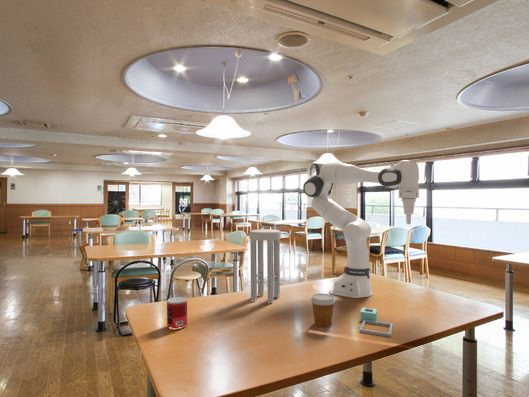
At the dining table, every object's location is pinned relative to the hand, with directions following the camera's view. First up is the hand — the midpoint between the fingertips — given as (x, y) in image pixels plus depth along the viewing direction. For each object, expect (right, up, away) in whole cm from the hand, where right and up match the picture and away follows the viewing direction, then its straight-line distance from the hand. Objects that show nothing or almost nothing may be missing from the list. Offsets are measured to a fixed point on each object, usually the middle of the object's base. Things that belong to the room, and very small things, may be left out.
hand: (408, 223), depth 157 cm
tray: (-25, -39, -30) cm, 56 cm away
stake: (-25, -39, -20) cm, 50 cm away
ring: (-25, -38, -20) cm, 50 cm away
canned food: (-104, -40, -24) cm, 114 cm away
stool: (-68, -40, +12) cm, 80 cm away
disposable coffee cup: (-45, -40, -25) cm, 65 cm away
